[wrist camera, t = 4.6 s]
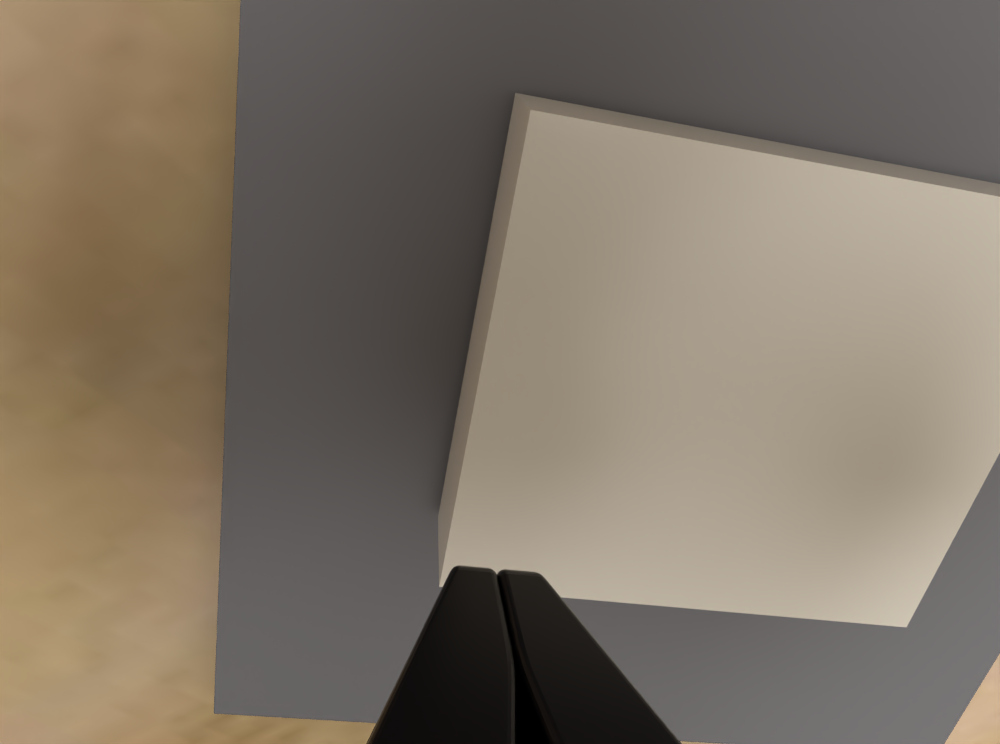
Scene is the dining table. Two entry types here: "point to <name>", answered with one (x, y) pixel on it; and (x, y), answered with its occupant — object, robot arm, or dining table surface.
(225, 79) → the dining table surface
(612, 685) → the robot arm
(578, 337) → the tile
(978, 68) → the mat
